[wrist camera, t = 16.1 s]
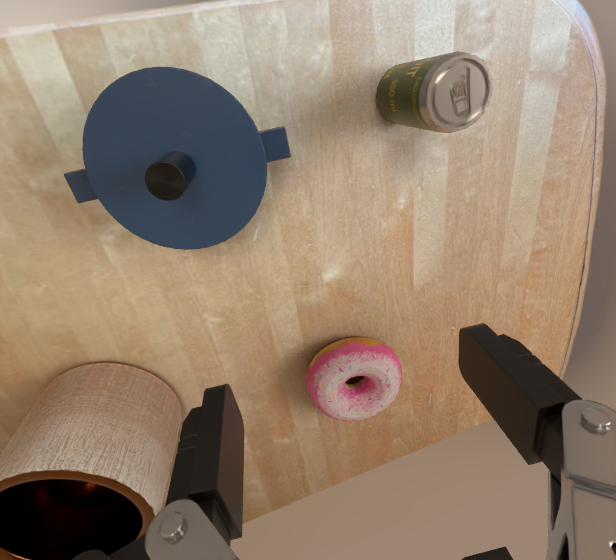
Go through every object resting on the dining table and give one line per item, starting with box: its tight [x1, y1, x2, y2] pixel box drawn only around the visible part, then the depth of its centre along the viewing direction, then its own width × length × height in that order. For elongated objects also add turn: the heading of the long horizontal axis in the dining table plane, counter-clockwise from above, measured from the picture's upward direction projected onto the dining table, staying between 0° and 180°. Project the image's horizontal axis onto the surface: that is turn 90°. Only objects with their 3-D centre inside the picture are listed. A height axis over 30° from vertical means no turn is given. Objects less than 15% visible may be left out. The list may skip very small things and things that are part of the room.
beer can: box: [376, 52, 493, 133], centre depth 31 cm, size 5×5×12 cm
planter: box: [0, 363, 181, 560], centre depth 42 cm, size 18×18×16 cm
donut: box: [306, 337, 402, 421], centre depth 50 cm, size 14×13×5 cm
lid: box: [83, 67, 267, 250], centre depth 26 cm, size 14×14×6 cm
